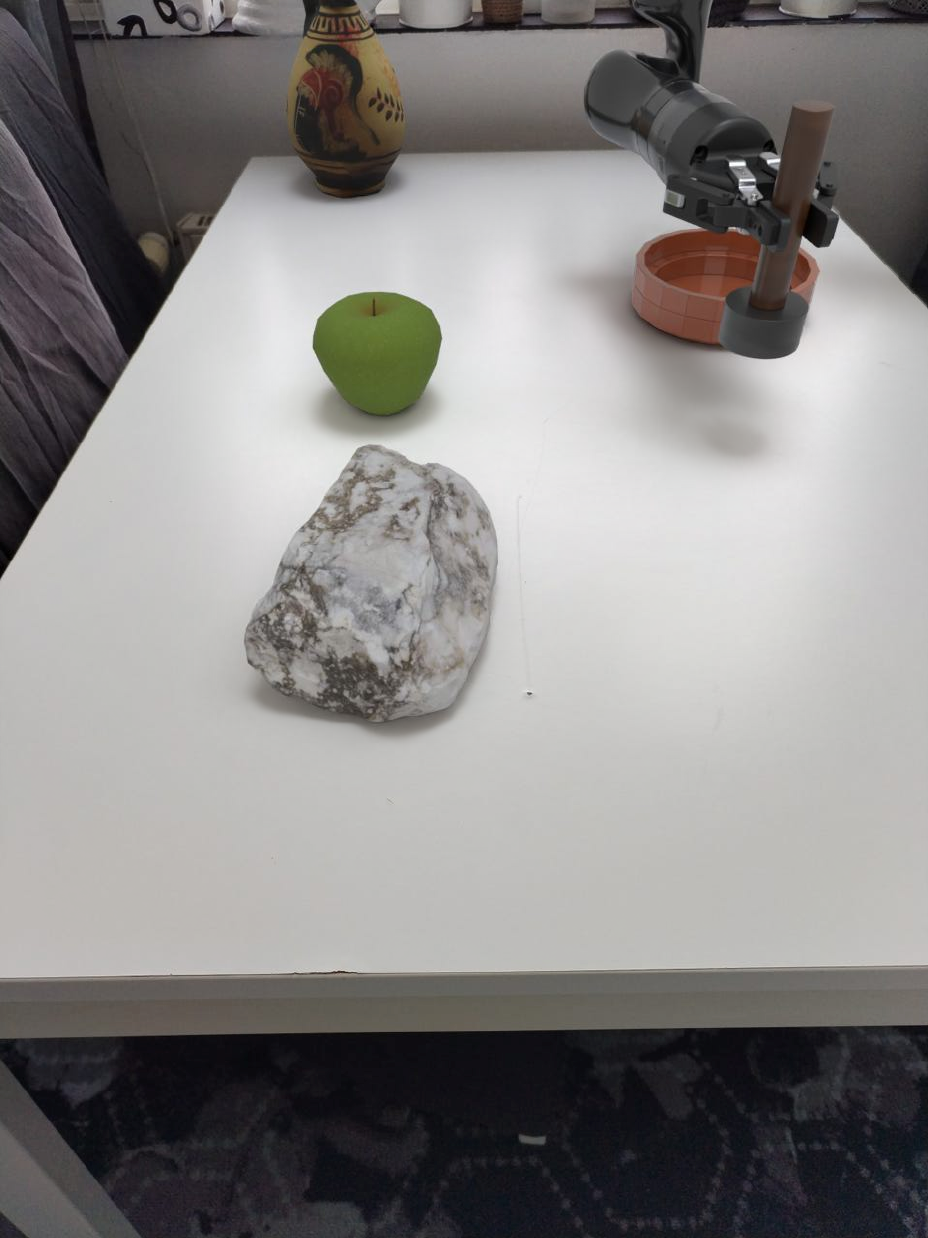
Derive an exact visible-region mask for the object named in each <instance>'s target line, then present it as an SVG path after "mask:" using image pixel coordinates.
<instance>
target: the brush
mask: <svg viewBox="0 0 928 1238" xmlns="http://www.w3.org/2000/svg"><path fill="white" fill-rule="evenodd" d="M835 110H836V106H835V105H834V104H833V103H831V102H828V101H825V100H821V99H820V100H819V99H803V100H797V101H795V102H793V103H792V106H791V111H790V115H789V119H788V124H787V128H786V133H785V137H784V140H783V146H782V151H781V155H780V157H781V159H780V164H779V168H778V173H777V177H776V182H775V186H774V190H773V195H772V199H771V203H772V204H773V205H775V206H776V207H777V208H779V209H780V210H781V211H782V212H783V213H785V214H786V215H787V216H788V217H790V219H791V222H792V226H791V231H790V235H789V239H788V243H787V247H786V250H785V251H783V252H774V253H773V252H772V251H771V250H770V249H768V248H767V247H766V246H765V245H762V244H761V249H760V253H759V257H758V262H757V266H756V271H755V275H754V280H753V284H752V286H745V287H740V288H737V289H735V290H733V291H731V292H730V293H729V294H728V295H727V296H726V299H725V304H724V308H723V313H722V318H721V323H720V328H719V333H718V339H719V342H720V343H721V346H722V347H723V348H725V349H726V350H728V351H729V352H731V353H733V354H736V355H738V356H740V357H745V358H749V359H754V360H755V359H756V360H777V359H782V358H785V357H789V356H790V355H793V354H794V353H795V352H796V351H797V349H798V348H799V345H800V342H801V339H802V334H803V330H804V327H805V324H806V319H807V316H808V314H809V312H808V309H809V310H810V308H809V306H808V303H807V301H806V300H805V299H804V298H803V297H802V296H800V295H799V294H797V293H795V292H792V291H790V290H789V287H790V283H791V279H792V275H793V271H794V267H795V264H796V260H797V256H798V252H799V248H801V244H802V240H803V232H804V228H805V224H806V220H807V217H808V213H809V209H810V205H811V201H812V197H813V193H814V189H815V185H816V181H817V177H818V173H819V170H820V166H821V162H822V161H823V158H824V154H825V149H826V146H827V142H828V138H829V135H830V134H829V133H830V131H831V127H832V122H833V119H834V114H835ZM807 313H808V314H807Z"/></svg>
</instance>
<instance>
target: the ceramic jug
mask: <svg viewBox="0 0 928 1238" xmlns="http://www.w3.org/2000/svg"><path fill="white" fill-rule="evenodd" d="M301 1H302V4H303V8H304V9H303V10H304V13H305V17H304V23H303V32H302V41H301V44H300V46H299V48H298V52H297V55H296V58H295V60H294V63H293V66H292V70H291V73H290V77H289V82H288V87H287V94H286V109H285V111H286V123H287V131H288V136H289V139H290V143H291V146H292V147H293V150H294V151H295V153H296V155H297V156H298V157H299V159H300V160H301V161H302V163H304V165H305V166H306V167H307V168H308V169H309V170H310V171H311V173H312V174H314V176H315V178H314V183H315V185H316V186H317V187H318V189H319V190H320V191H321V192H322V193H323V192H324V193H326V194H329V195H332V196H336V197H339V198H345V199H347V198H348V199H349V198H352V197H358V196H365V197H366V196H369V195H374V194H376V193H379V192H381V191H382V188H384V187H385V185H386V183H385V179H386V176H387V175H388V174H389V171H390V170H391V168H392V167H393V165H394V163H395V162H396V160H397V159H398V157H399V156H400V153H401V151H402V148H403V143H404V140H405V135H406V134H405V133H406V114H405V107H404V102H403V97H402V93H401V89H400V86H399V81H398V79H397V76H396V72H395V69H394V67H393V66H392V64H391V62H390V59H389V58H388V56H387V54H386V52H385V50H384V48H383V47H382V44H381V42H380V40H379V39H378V37H377V35H376V33H375V31H374V30H373V28H372V27H371V25H370V23H369V22H368V20H366V18H365V16H364V14H363V13H362V11H361V10H360V7H359V5H358V2H356V1H355V0H301Z"/></svg>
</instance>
